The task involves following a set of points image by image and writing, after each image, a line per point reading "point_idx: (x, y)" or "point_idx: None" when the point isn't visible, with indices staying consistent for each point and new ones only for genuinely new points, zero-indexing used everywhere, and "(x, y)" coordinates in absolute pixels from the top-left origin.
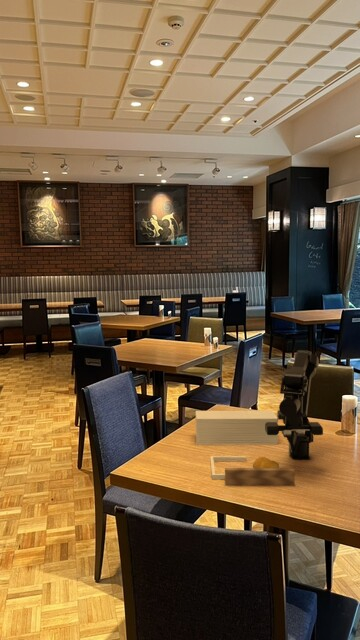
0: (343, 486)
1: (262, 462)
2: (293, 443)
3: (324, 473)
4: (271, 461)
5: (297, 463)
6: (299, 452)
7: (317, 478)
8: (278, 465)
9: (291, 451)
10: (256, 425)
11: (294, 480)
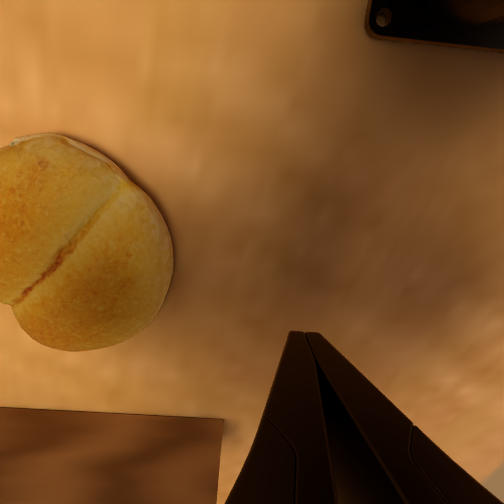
0: (461, 452)
1: (1, 297)
2: (342, 429)
3: (466, 325)
4: (78, 316)
5: (366, 141)
6: (485, 5)
7: (382, 378)
8: (153, 307)
9: (287, 338)
10: None
11: (219, 465)
